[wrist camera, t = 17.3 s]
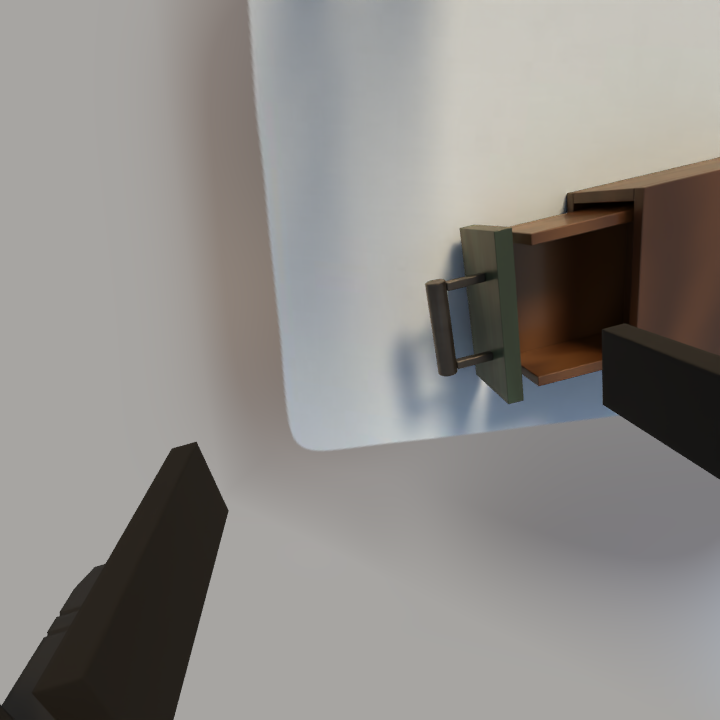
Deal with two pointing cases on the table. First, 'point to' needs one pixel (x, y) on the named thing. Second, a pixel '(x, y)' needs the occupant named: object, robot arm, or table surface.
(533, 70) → the table surface
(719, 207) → the cabinet
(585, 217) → the drawer
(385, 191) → the table surface
